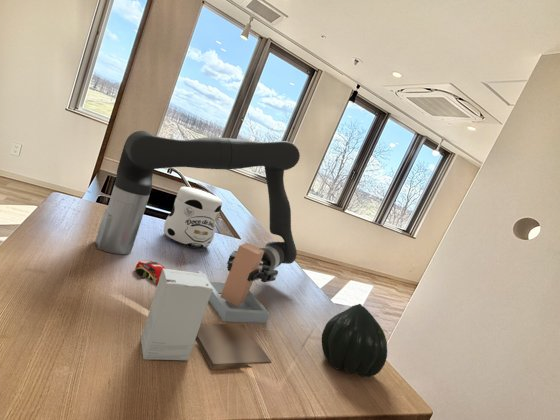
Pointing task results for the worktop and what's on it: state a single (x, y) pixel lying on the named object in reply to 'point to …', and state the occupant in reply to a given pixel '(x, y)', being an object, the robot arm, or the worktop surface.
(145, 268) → the race car
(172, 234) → the milk container
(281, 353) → the worktop surface
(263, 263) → the robot arm
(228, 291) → the terracotta block
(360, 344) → the squash
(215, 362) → the walnut board
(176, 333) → the skincare box
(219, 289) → the grey channel
